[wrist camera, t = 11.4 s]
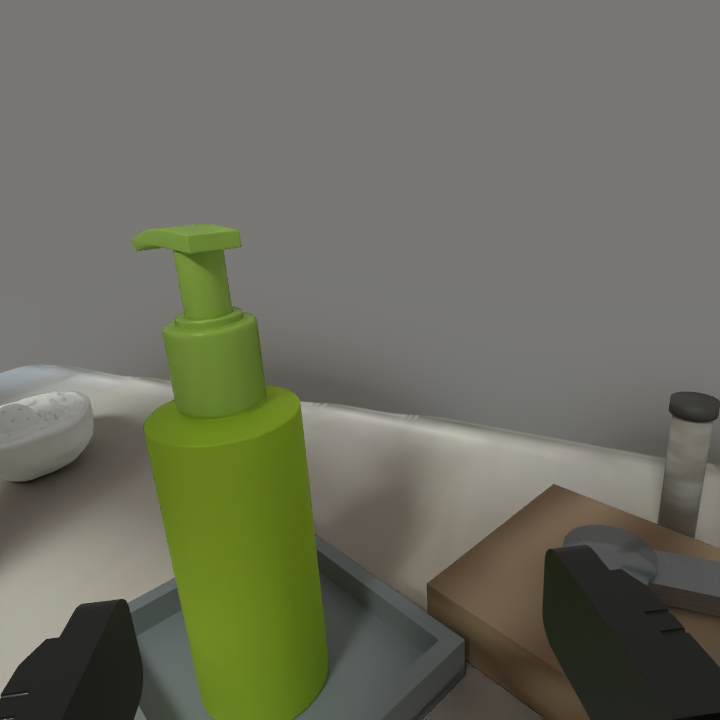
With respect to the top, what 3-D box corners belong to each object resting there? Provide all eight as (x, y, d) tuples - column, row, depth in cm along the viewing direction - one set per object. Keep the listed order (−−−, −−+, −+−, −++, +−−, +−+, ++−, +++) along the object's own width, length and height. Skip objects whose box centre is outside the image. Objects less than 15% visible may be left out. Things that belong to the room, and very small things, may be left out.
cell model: (121, 430, 52) (105, 366, 50) (75, 497, 41) (53, 418, 39) (13, 443, 51) (-7, 378, 49) (-64, 515, 40) (-95, 434, 38)
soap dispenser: (272, 592, 29) (218, 219, 23) (354, 670, 24) (313, 218, 18) (169, 656, 26) (72, 233, 19) (240, 763, 20) (140, 237, 14)
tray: (85, 664, 26) (75, 631, 25) (293, 543, 34) (289, 515, 33) (213, 931, 16) (203, 888, 16) (464, 675, 24) (464, 639, 24)
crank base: (428, 632, 27) (423, 479, 24) (592, 488, 38) (602, 372, 35) (696, 830, 18) (737, 627, 15) (807, 568, 29) (843, 423, 26)
